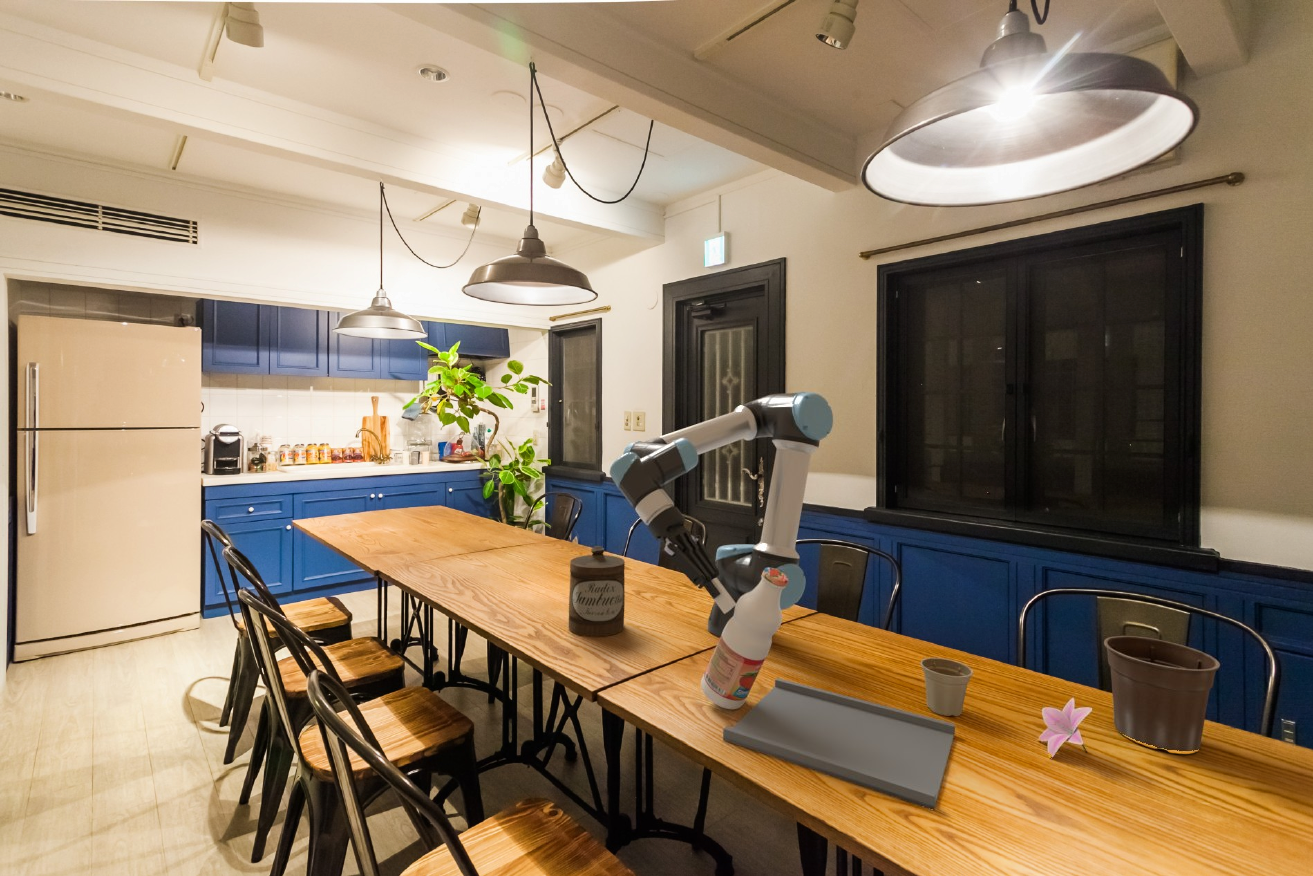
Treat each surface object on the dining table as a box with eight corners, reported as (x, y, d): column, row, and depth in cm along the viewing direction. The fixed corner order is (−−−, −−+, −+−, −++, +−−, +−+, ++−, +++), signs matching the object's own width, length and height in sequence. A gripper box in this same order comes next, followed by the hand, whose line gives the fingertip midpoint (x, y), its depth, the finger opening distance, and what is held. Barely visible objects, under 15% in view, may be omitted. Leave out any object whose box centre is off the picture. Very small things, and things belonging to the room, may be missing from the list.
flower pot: (967, 703, 123) (968, 661, 123) (975, 725, 114) (977, 680, 114) (916, 695, 126) (918, 654, 126) (920, 716, 117) (922, 672, 117)
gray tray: (723, 740, 106) (723, 728, 106) (776, 687, 128) (777, 678, 128) (934, 810, 88) (934, 797, 88) (954, 735, 110) (955, 724, 110)
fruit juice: (705, 669, 126) (756, 554, 119) (747, 691, 124) (802, 576, 117) (694, 694, 117) (749, 572, 110) (739, 718, 115) (798, 595, 108)
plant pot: (1182, 771, 100) (1187, 674, 100) (1081, 725, 115) (1084, 641, 115) (1235, 752, 107) (1239, 661, 106) (1132, 711, 121) (1136, 631, 121)
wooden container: (571, 639, 153) (573, 552, 153) (566, 620, 168) (567, 541, 167) (628, 635, 157) (630, 551, 156) (618, 617, 171) (620, 540, 171)
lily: (1044, 734, 113) (1023, 693, 113) (1112, 730, 107) (1090, 687, 106) (1044, 779, 104) (1021, 735, 104) (1118, 778, 98) (1094, 731, 98)
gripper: (666, 523, 135) (732, 611, 126) (632, 531, 124) (702, 628, 115) (687, 501, 132) (756, 590, 123) (655, 508, 121) (728, 606, 112)
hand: (730, 609), depth 119 cm, fingers closed
